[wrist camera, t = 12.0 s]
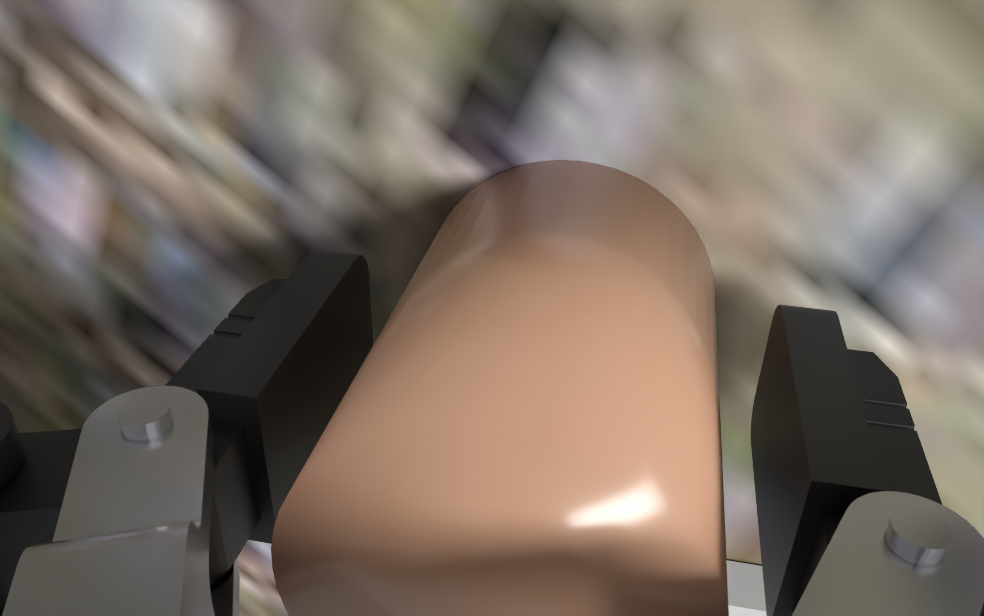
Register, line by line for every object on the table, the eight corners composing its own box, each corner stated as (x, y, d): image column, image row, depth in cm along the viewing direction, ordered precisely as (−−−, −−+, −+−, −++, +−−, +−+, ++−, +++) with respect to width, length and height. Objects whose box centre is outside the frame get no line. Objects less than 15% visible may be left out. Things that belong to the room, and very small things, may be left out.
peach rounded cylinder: (426, 146, 12) (243, 390, 7) (738, 176, 12) (772, 468, 7) (430, 391, 15) (293, 704, 10) (691, 427, 14) (691, 786, 9)
